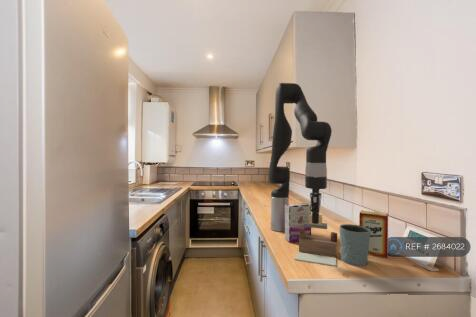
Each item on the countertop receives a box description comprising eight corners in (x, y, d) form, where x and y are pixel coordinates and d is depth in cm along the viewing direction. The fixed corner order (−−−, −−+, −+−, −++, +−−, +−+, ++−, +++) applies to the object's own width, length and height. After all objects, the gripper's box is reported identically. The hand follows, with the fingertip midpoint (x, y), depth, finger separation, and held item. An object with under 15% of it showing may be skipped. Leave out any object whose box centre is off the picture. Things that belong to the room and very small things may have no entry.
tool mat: (296, 253, 92) (296, 251, 92) (335, 258, 87) (335, 257, 87) (294, 259, 85) (294, 258, 85) (336, 266, 80) (336, 265, 80)
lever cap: (304, 223, 90) (304, 213, 90) (327, 226, 87) (327, 215, 87) (303, 226, 85) (303, 215, 86) (327, 229, 83) (327, 217, 83)
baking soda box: (359, 252, 94) (359, 211, 94) (361, 247, 99) (361, 209, 99) (387, 257, 88) (387, 215, 89) (388, 252, 94) (388, 212, 94)
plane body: (300, 246, 99) (300, 225, 99) (336, 251, 94) (336, 228, 94) (298, 251, 93) (299, 228, 93) (337, 257, 88) (337, 233, 88)
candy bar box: (305, 237, 111) (305, 202, 111) (311, 241, 106) (311, 204, 106) (284, 239, 108) (284, 203, 108) (289, 242, 103) (289, 205, 103)
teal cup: (343, 253, 92) (343, 222, 92) (372, 260, 86) (373, 227, 86) (335, 261, 84) (335, 228, 84) (367, 270, 78) (367, 233, 78)
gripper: (306, 174, 94) (306, 217, 94) (303, 175, 81) (303, 225, 81) (326, 174, 92) (326, 219, 91) (326, 176, 78) (326, 228, 78)
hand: (315, 221), depth 86 cm, fingers closed on lever cap, 3 cm apart
